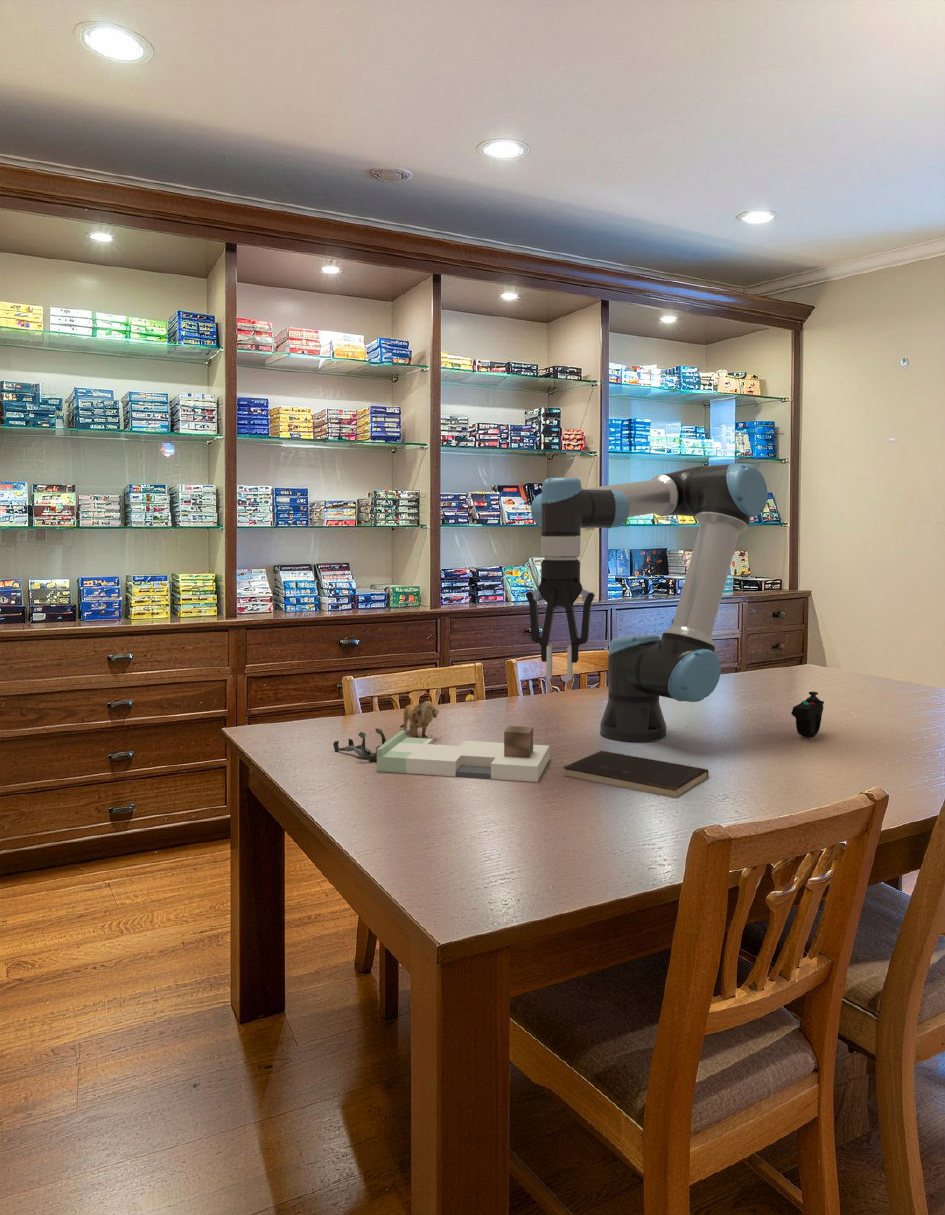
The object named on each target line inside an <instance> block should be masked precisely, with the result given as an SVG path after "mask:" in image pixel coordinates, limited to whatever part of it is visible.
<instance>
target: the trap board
mask: <svg viewBox="0 0 945 1215" xmlns="http://www.w3.org/2000/svg"><path fill="white" fill-rule="evenodd" d="M379 746H380V747H379V748H377V760H376V772H382V773H395V774H396V773H397V774H411V775H412V774H413V775H424V776H425V775H428V776H440V777H441V776H442V777H444V776H445V777H454V778H458V777H459V778H470V779H471V778H472V779H488V780H500V781H501V780H502V781H503V780H504V781H515V782H516V781H517V782H533V783H538V782H539V781H540V778H541V777H542V775H543V772H544V770H545V769H546V766H547V764H548V763H549V761H550V745H547V744H546V745H545V744H533V753H532V754H531V756H530V758H519V757H504V742H494V741H493V742H491V741H477V740H476V741H475V740H464V741H463V742H462V743H461V744H460V745H447V744H434V739H433V738H422V737H418V738H413V737H407V734H406V730H403V729H402V730H400V731H399V732H397V733H396V734H394V735H393V736H392V737H391V738H389V739H388V740H386V741H385V743H384V744H383V745H382V744H381V745H379Z"/></svg>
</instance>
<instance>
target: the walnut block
mask: <svg viewBox="0 0 945 1215" xmlns="http://www.w3.org/2000/svg"><path fill="white" fill-rule="evenodd" d="M503 736H504V737H503V743H504V757H519V758H530V756H531V754H532V753H533V745H534V726H518V725H516V726H515V725H509V726H507V728H506V729H505V730H504V732H503Z"/></svg>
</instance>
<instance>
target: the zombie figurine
mask: <svg viewBox="0 0 945 1215" xmlns="http://www.w3.org/2000/svg"><path fill="white" fill-rule="evenodd" d="M375 732H376V733H377V734H378V735H380V737H381V745H383V744H384V743H385V742H387V740H386V739H387V738H386V736H385V733H384V731H383V730H382V729H381V728H375ZM357 735H358V737H359V738H360V739H362V742H361V744H359V745H356V746H355V743H354V741H353V739H351V738H348V745H346V746H345V747H339V746H340V745H339V743H340V741H339V740H335V741H333V743H332V745H333V746H332V747H333V749H334V752H339V751H341V752H352V751H355V753H357V754H358V756H359V758H360V759H365V760H368V761H372V762H375V761H377V748H379V747H380V746H381V745H378V746H377V747H375V752H372V750H371V749H370V748H367V746H366V736H367V735H366V732H362V731H360V732H359V733H358V734H357Z"/></svg>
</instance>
